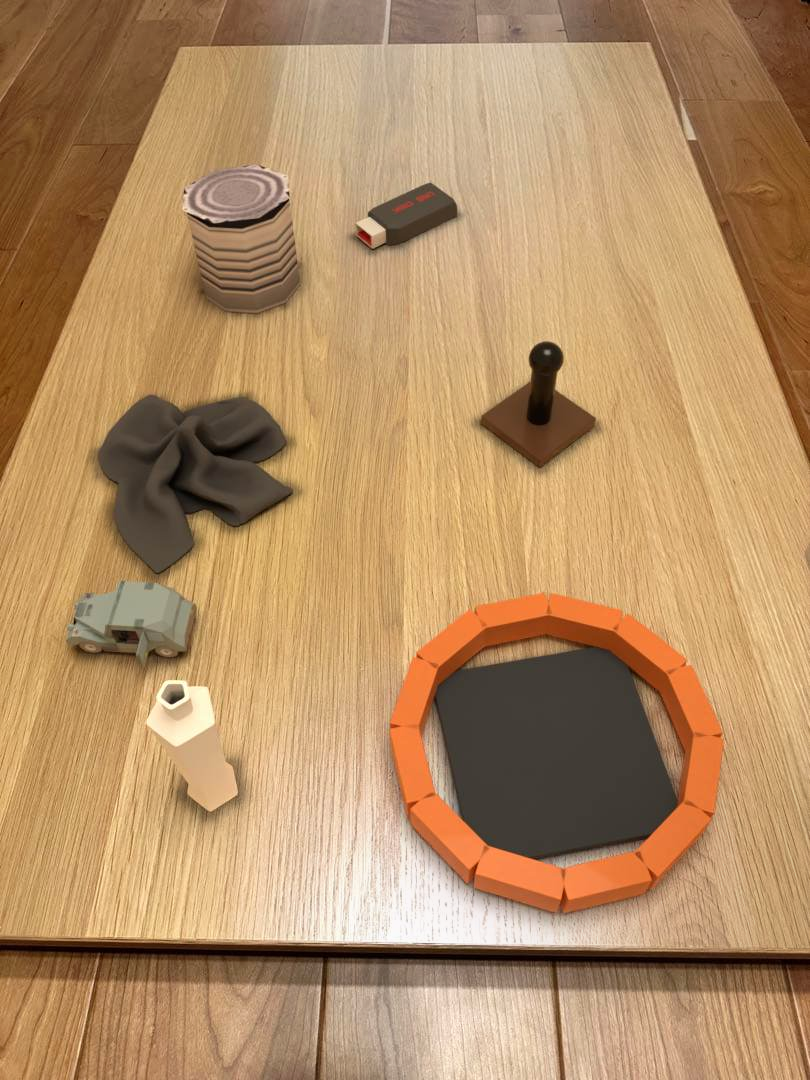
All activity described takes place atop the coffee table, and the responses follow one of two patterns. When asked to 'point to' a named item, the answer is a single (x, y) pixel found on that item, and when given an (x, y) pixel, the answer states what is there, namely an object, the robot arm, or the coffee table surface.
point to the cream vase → (193, 742)
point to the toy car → (133, 620)
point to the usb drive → (406, 216)
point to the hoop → (525, 874)
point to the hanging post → (539, 411)
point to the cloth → (188, 470)
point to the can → (243, 237)
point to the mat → (553, 754)
